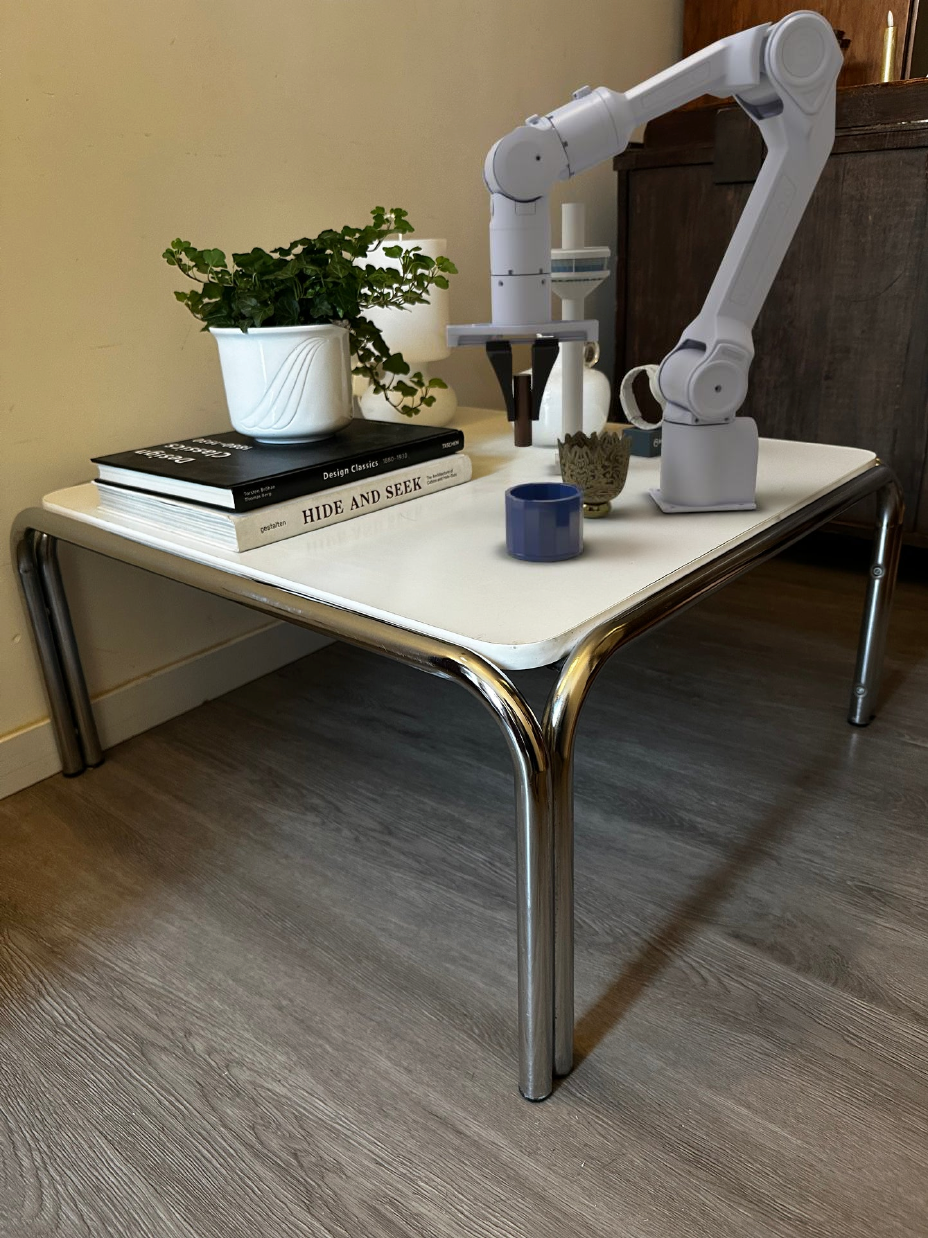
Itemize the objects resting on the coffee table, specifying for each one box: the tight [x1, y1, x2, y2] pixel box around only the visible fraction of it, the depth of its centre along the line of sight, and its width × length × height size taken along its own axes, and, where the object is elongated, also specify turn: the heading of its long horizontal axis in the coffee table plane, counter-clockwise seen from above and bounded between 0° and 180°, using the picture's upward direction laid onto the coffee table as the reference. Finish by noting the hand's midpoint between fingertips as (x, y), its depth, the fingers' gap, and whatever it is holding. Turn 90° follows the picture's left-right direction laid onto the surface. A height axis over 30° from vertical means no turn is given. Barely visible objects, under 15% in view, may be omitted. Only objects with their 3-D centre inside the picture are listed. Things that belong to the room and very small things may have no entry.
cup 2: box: [556, 430, 632, 519], centre depth 94 cm, size 8×7×8 cm
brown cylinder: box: [512, 372, 533, 448], centre depth 92 cm, size 2×2×7 cm
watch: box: [619, 364, 667, 458], centre depth 120 cm, size 6×8×11 cm
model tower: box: [550, 202, 611, 475], centre depth 108 cm, size 8×8×30 cm
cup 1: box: [504, 481, 585, 563], centre depth 84 cm, size 7×7×6 cm
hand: (523, 419), depth 93 cm, fingers closed on brown cylinder, 2 cm apart
